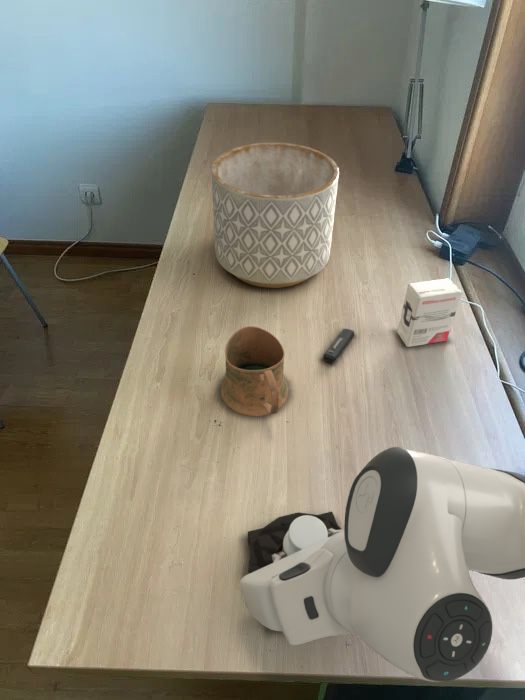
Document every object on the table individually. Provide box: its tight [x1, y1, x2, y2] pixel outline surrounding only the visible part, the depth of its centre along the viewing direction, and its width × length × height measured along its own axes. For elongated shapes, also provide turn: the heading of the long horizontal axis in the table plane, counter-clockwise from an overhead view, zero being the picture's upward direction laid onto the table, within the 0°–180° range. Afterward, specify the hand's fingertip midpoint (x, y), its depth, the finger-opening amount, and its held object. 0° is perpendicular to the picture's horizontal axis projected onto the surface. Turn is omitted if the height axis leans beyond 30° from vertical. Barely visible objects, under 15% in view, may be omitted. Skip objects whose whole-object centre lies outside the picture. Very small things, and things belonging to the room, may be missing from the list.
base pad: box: [247, 511, 342, 574], centre depth 73 cm, size 14×14×2 cm
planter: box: [211, 142, 340, 289], centre depth 120 cm, size 26×26×22 cm
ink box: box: [396, 277, 463, 348], centre depth 105 cm, size 8×5×12 cm, turn 104°
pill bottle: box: [282, 515, 328, 556], centre depth 70 cm, size 6×6×10 cm
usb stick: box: [322, 328, 355, 364], centre depth 106 cm, size 10×3×2 cm, turn 149°
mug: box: [220, 325, 289, 417], centre depth 91 cm, size 12×18×12 cm, turn 15°
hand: (302, 547), depth 70 cm, fingers closed on pill bottle, 6 cm apart
